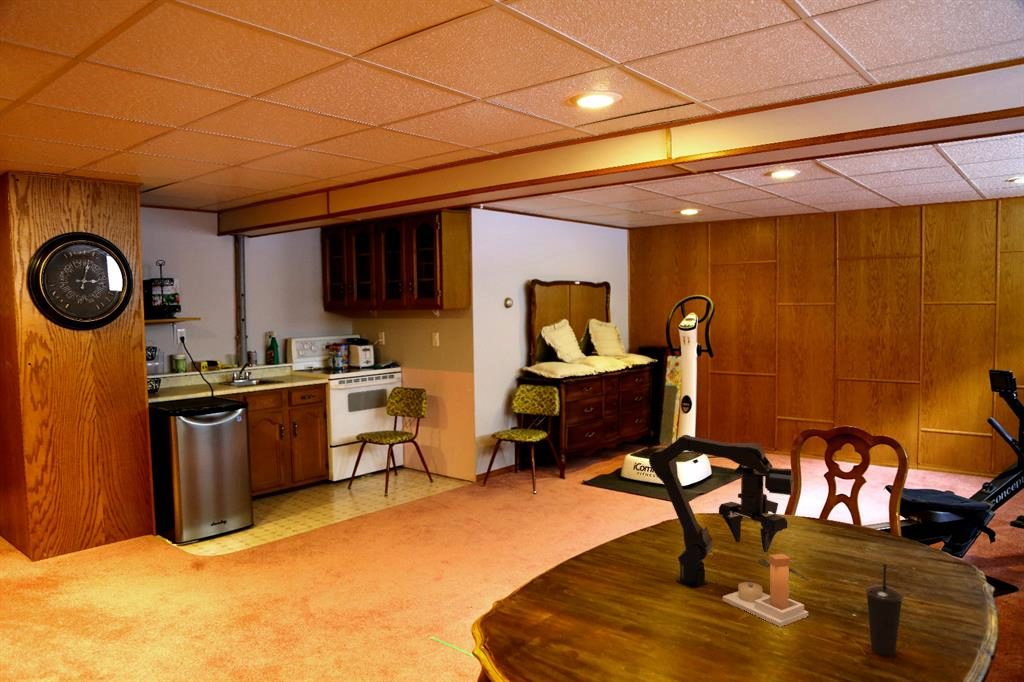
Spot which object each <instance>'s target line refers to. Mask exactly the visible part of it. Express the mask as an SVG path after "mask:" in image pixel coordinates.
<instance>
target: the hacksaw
mask: <svg viewBox="0 0 1024 682" xmlns="http://www.w3.org/2000/svg"><path fill="white" fill-rule="evenodd" d="M759 562H761V563H762V564H761V563H760V564H761V565H763V564H764V565H763V566H765V565H766V566H767V567H766V566H765V567H766V568H768V567H769V568H770V563H769V562H767V560H766V559H764V558H759V559H758V563H759ZM769 568H768V569H769ZM789 570H790V571H789V572H790V573H792V572H793V573H792V574H794V573H795V575H796V574H797V576H798V575H799V576H801V577H802V578H801V577H800V578H801V579H803V578H804V579H803V580H805V579H806V580H805V581H807V580H810V578H807V577H806V576H804V575H802V574H801V573H799V572H798V571H796V570H794V569H793V568H791V567H789ZM799 576H798V577H799ZM811 580H813V582H814V581H815V580H814V579H811ZM829 584H830V585H829V586H833V587H834V586H835V587H834V589H835V588H836V589H837V586H836V585H835V584H832V583H829ZM821 585H826V583H823V582H822V584H821Z"/></svg>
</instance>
